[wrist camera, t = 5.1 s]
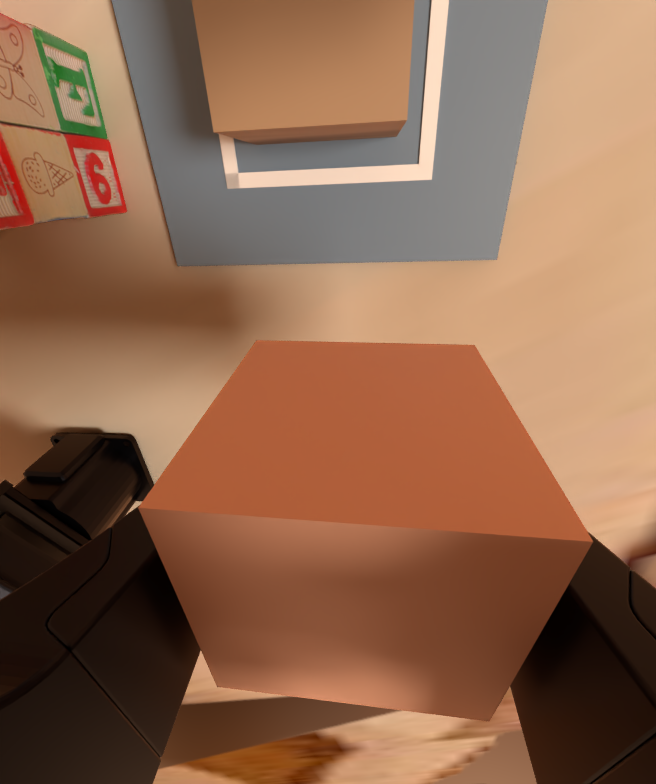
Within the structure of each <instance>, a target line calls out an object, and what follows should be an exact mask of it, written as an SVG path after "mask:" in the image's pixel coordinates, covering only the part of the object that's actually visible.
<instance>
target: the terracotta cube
mask: <svg viewBox="0 0 656 784" xmlns="http://www.w3.org/2000/svg"><path fill="white" fill-rule="evenodd" d="M138 508H139V511H140V513H141V515H142V518H143V520H144V522H145V524H146V527H147V529H148V531H149V533H150V536H151V538H152V540H153V542H154V545H155V547H156V549H157V552H158V554H159V556H160V558H161V561H162V563H163V565H164V567H165V570H166V572H167V574H168V576H169V579H170V581H171V583H172V586H173V588H174V590H175V592H176V595H177V597H178V599H179V601H180V604H181V606H182V608H183V610H184V613H185V615H186V617H187V619H188V622H189V624H190V626H191V629H192V631H193V633H194V635H195V638H196V640H197V642H198V644H199V647H200V649H201V651H202V653H203V656H204V658H205V660H206V663H207V665H208V667H209V669H210V672H211V674H212V676H213V678H214V681H215V683H216V685H217V687H223V688H231V689H239V690H247V691H255V692H263V693H270V694H278V695H286V696H294V697H303V698H310V699H318V700H325V701H334V702H342V703H349V704H357V705H365V706H373V707H381V708H388V709H396V710H404V711H412V712H420V713H428V714H436V715H443V716H451V717H459V718H467V719H475V720H483V721H490V720H491V718H492V716H493V714H494V713H495V711H496V709H497V707H498V706H499V704H500V702H501V701H502V699H503V697H504V695H505V694H506V692H507V690H508V688H509V687H510V685H511V683H512V681H513V680H514V678H515V676H516V675H517V673H518V671H519V669H520V668H521V666H522V664H523V662H524V661H525V659H526V657H527V656H528V654H529V652H530V650H531V649H532V647H533V645H534V643H535V642H536V640H537V638H538V637H539V635H540V633H541V631H542V630H543V628H544V626H545V624H546V623H547V621H548V619H549V617H550V616H551V614H552V612H553V611H554V609H555V607H556V605H557V604H558V602H559V600H560V598H561V597H562V595H563V593H564V592H565V590H566V588H567V586H568V585H569V583H570V581H571V579H572V578H573V576H574V574H575V573H576V571H577V569H578V567H579V566H580V564H581V562H582V560H583V559H584V557H585V555H586V553H587V552H588V550H589V548H590V547H591V545H592V543H593V540H592V539H591V537H590V535H589V534H588V532H587V530H586V529H585V527H584V525H583V524H582V522H581V520H580V519H579V517H578V515H577V514H576V512H575V511H574V509H573V507H572V506H571V504H570V502H569V501H568V499H567V497H566V496H565V494H564V492H563V491H562V489H561V487H560V486H559V484H558V482H557V481H556V479H555V477H554V476H553V474H552V472H551V471H550V469H549V468H548V466H547V464H546V463H545V461H544V459H543V458H542V456H541V454H540V453H539V451H538V449H537V448H536V446H535V444H534V443H533V441H532V439H531V438H530V436H529V434H528V433H527V431H526V429H525V428H524V426H523V425H522V423H521V421H520V420H519V418H518V416H517V415H516V413H515V411H514V410H513V408H512V406H511V405H510V403H509V401H508V400H507V398H506V396H505V395H504V393H503V391H502V390H501V388H500V386H499V385H498V383H497V381H496V380H495V378H494V377H493V375H492V373H491V372H490V370H489V368H488V367H487V365H486V363H485V362H484V360H483V358H482V357H481V355H480V353H479V352H478V350H477V348H476V347H475V345H448V344H401V343H354V342H308V341H261V340H257V341H256V342H255V343H254V345H253V346H252V348H251V349H250V350H249V352H248V353H247V355H246V356H245V357H244V359H243V360H242V362H241V363H240V365H239V366H238V367H237V369H236V370H235V372H234V373H233V374H232V376H231V377H230V379H229V380H228V382H227V383H226V384H225V386H224V387H223V389H222V390H221V391H220V393H219V394H218V396H217V397H216V398H215V400H214V401H213V403H212V404H211V406H210V407H209V408H208V410H207V411H206V413H205V414H204V415H203V417H202V418H201V420H200V421H199V423H198V424H197V425H196V427H195V428H194V430H193V431H192V432H191V434H190V435H189V437H188V438H187V439H186V441H185V442H184V444H183V445H182V447H181V448H180V449H179V451H178V452H177V454H176V455H175V456H174V458H173V459H172V461H171V462H170V464H169V465H168V466H167V468H166V469H165V471H164V472H163V473H162V475H161V476H160V478H159V479H158V480H157V482H156V483H155V485H154V486H153V488H152V489H151V490H150V492H149V493H148V495H147V496H146V497H145V499H144V500H143V502H142V503H141V505H140V506H139V507H138Z"/></svg>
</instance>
